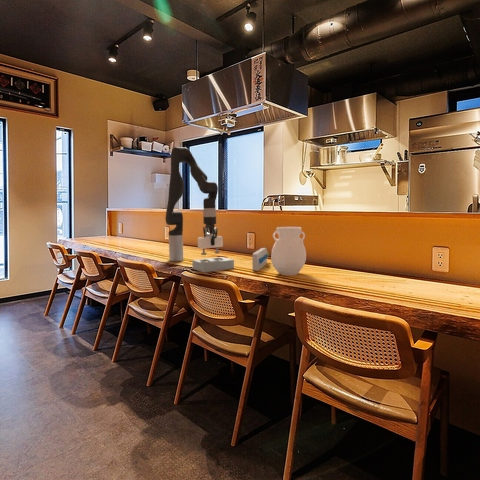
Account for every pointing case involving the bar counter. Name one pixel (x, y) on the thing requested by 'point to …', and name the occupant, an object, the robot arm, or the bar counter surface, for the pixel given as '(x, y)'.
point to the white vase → (288, 250)
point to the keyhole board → (213, 264)
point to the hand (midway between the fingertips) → (210, 244)
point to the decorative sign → (259, 258)
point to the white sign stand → (206, 243)
